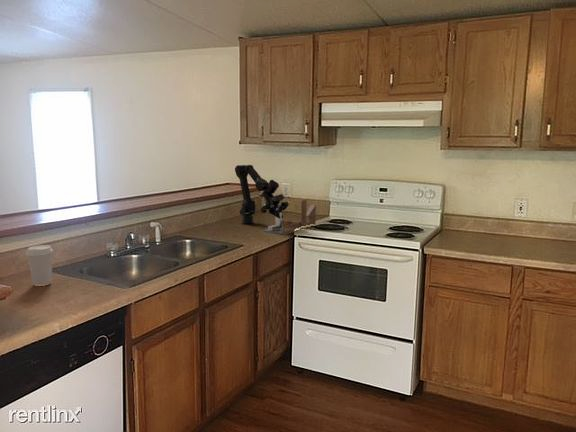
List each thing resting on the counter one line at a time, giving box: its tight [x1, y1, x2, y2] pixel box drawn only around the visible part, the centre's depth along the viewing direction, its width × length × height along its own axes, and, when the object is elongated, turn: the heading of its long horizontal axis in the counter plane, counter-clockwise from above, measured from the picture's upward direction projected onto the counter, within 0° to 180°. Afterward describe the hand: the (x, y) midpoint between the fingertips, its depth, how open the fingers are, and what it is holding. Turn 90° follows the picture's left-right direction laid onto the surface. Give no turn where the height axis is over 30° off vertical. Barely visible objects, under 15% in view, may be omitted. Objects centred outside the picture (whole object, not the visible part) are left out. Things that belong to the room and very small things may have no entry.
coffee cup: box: [25, 244, 54, 284], centre depth 189 cm, size 10×10×15 cm
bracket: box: [267, 211, 283, 230], centre depth 294 cm, size 4×8×10 cm, turn 131°
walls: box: [282, 219, 301, 233], centre depth 298 cm, size 16×18×4 cm
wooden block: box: [300, 199, 317, 226], centre depth 307 cm, size 4×11×18 cm, turn 131°
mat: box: [263, 226, 295, 235], centre depth 298 cm, size 16×18×1 cm
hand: (281, 218), depth 294 cm, fingers closed on bracket, 2 cm apart
